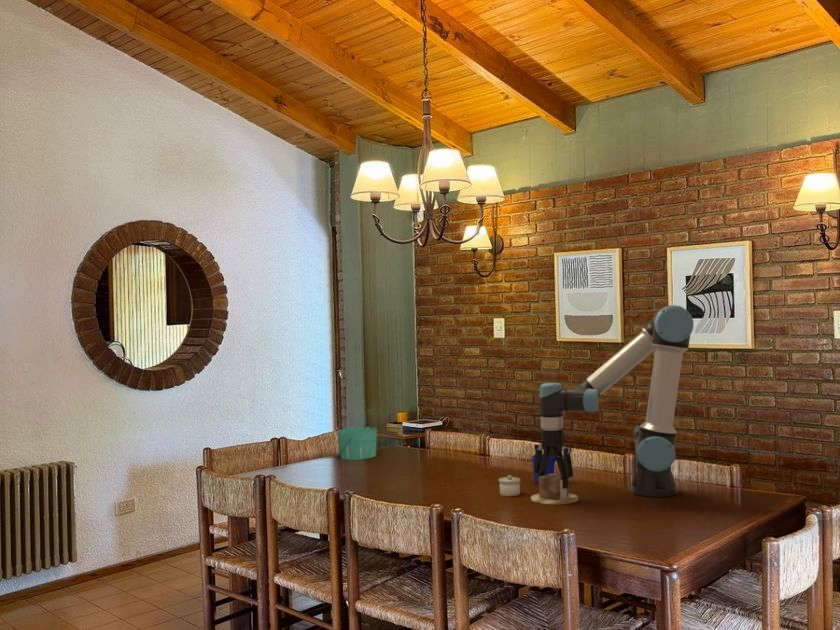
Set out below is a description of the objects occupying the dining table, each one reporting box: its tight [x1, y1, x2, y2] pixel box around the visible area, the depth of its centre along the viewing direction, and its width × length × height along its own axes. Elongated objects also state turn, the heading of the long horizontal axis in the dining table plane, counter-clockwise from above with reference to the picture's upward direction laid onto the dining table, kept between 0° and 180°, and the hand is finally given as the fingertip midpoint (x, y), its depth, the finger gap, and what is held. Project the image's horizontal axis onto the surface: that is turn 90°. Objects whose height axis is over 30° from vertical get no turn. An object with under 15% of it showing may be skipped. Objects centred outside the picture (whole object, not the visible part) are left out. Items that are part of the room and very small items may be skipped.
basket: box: [336, 426, 378, 461], centre depth 350 cm, size 19×18×13 cm
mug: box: [531, 453, 564, 484], centre depth 279 cm, size 8×12×10 cm
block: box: [538, 473, 569, 500], centre depth 253 cm, size 7×7×7 cm
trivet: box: [530, 492, 580, 506], centre depth 253 cm, size 16×16×1 cm
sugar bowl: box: [498, 474, 521, 497], centre depth 263 cm, size 8×8×7 cm
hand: (553, 496), depth 253 cm, fingers open, 7 cm apart
